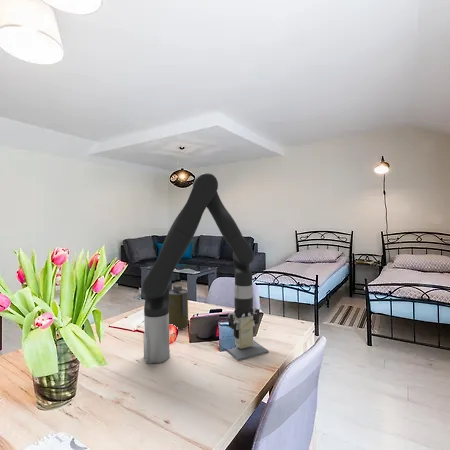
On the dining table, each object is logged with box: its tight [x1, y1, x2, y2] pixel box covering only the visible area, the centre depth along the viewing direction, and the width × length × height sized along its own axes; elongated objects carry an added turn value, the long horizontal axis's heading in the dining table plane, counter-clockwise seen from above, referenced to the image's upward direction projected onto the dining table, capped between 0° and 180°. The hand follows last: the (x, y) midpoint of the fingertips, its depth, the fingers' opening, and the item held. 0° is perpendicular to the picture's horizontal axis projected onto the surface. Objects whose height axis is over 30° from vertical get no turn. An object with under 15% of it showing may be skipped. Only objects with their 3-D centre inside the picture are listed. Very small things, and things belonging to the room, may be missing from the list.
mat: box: [226, 339, 270, 362], centre depth 118 cm, size 14×14×1 cm
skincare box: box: [234, 314, 254, 348], centre depth 118 cm, size 6×4×12 cm
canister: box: [169, 284, 189, 330], centre depth 143 cm, size 11×10×20 cm
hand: (244, 336), depth 118 cm, fingers closed on skincare box, 6 cm apart
